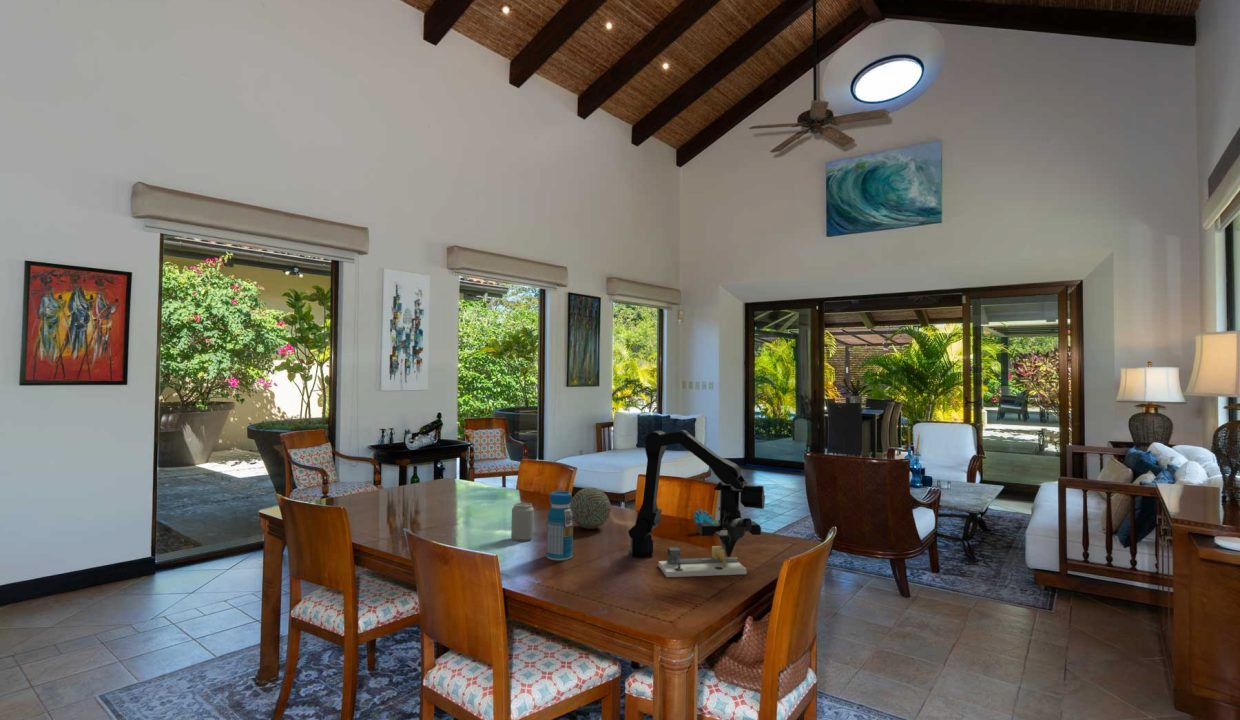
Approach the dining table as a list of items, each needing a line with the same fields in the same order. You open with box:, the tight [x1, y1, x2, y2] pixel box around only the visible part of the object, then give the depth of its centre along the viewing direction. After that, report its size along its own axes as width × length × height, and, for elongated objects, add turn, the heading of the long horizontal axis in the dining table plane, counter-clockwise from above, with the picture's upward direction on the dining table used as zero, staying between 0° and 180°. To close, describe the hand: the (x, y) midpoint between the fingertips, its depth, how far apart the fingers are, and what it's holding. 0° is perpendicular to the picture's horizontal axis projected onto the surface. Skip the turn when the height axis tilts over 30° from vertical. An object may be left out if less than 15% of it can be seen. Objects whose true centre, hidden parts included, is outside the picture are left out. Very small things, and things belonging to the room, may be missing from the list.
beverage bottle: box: [545, 490, 575, 562], centre depth 198 cm, size 8×8×20 cm
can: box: [510, 502, 535, 542], centre depth 218 cm, size 8×8×12 cm
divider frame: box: [666, 546, 739, 568], centre depth 189 cm, size 22×8×4 cm, turn 100°
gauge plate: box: [658, 560, 747, 578], centre depth 189 cm, size 24×10×2 cm, turn 100°
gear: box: [693, 509, 719, 525], centre depth 234 cm, size 11×6×10 cm
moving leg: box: [711, 545, 726, 567], centre depth 190 cm, size 3×8×4 cm, turn 10°
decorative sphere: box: [569, 486, 611, 530], centre depth 234 cm, size 15×15×15 cm
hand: (728, 556), depth 193 cm, fingers closed
